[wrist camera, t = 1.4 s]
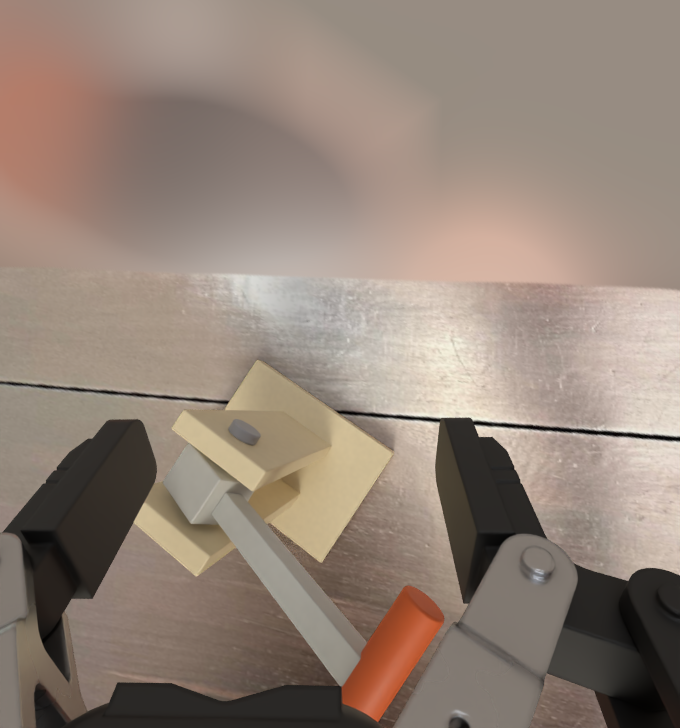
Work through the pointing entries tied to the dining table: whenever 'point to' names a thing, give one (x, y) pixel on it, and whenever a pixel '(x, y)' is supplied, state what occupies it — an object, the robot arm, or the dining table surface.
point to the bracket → (271, 469)
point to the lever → (309, 590)
